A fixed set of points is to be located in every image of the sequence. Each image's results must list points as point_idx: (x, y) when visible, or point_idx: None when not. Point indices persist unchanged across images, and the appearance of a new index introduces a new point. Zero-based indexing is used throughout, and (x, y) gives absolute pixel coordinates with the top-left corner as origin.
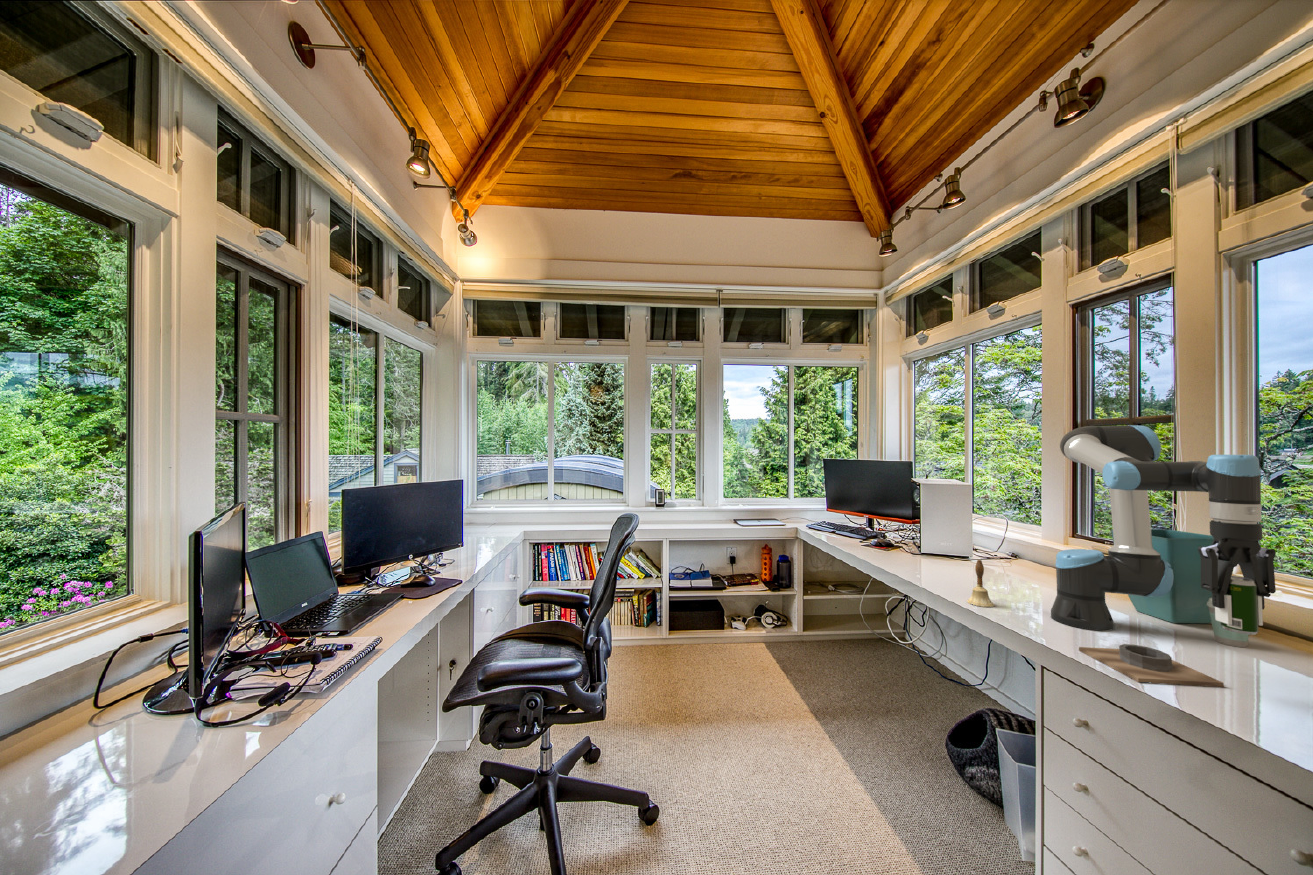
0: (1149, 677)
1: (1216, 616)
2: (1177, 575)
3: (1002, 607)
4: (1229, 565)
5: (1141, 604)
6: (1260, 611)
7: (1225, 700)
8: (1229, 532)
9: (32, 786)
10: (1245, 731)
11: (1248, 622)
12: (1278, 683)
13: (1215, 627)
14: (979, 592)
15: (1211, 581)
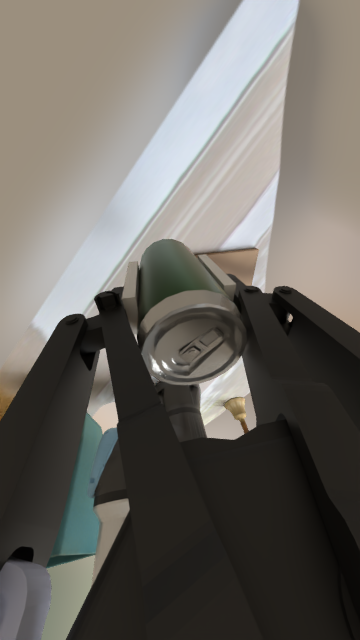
0: (242, 255)
1: None
2: None
3: (221, 401)
4: (315, 382)
5: (98, 432)
6: (130, 275)
7: (194, 212)
8: None
9: None
10: (264, 86)
11: (176, 244)
12: (81, 286)
13: None
14: (243, 412)
15: (316, 306)
